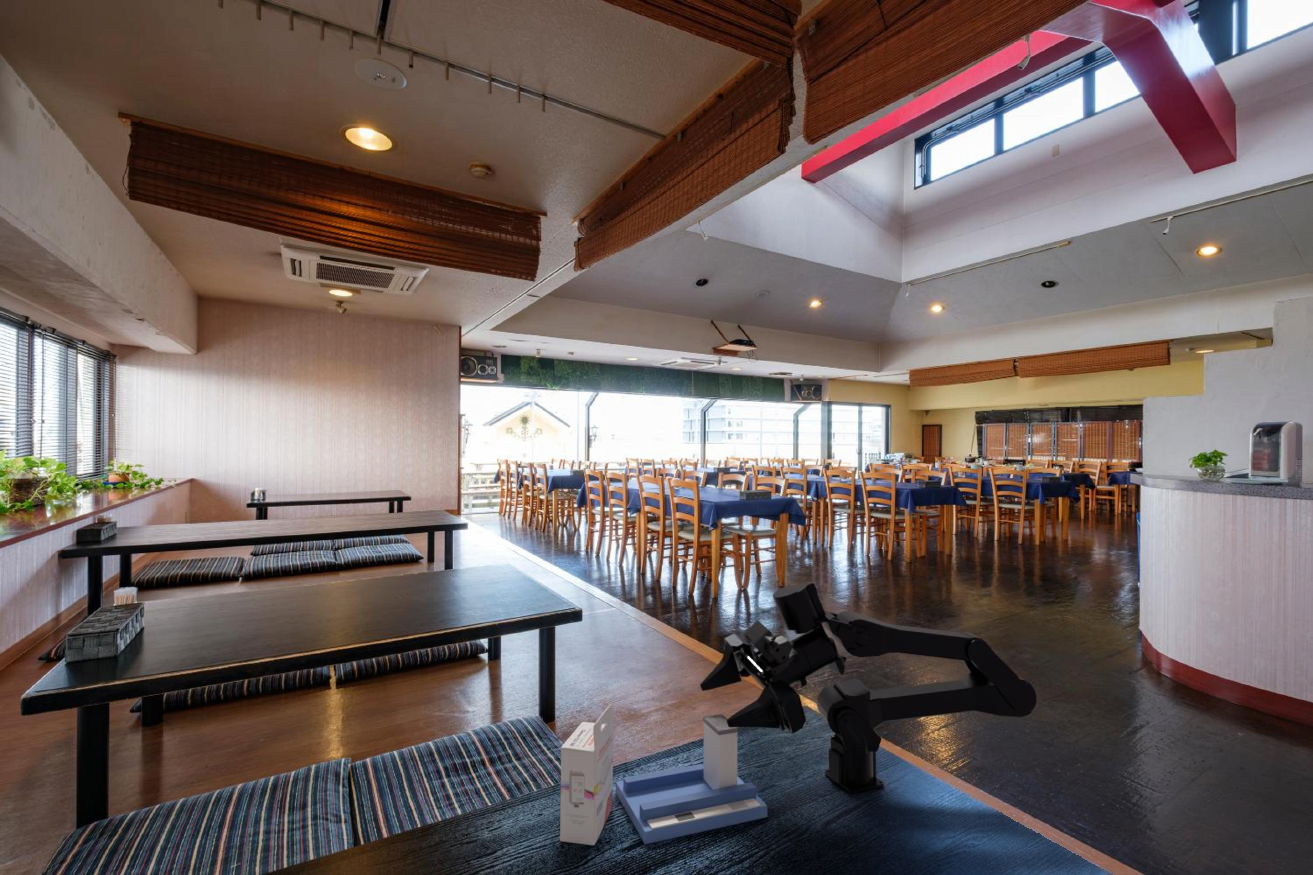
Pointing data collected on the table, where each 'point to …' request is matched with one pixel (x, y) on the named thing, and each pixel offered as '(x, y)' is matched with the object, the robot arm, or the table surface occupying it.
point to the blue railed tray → (685, 803)
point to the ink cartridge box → (587, 780)
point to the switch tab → (719, 752)
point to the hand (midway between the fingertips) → (713, 704)
